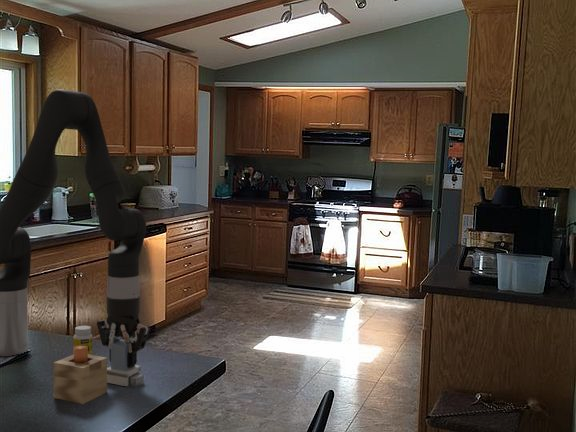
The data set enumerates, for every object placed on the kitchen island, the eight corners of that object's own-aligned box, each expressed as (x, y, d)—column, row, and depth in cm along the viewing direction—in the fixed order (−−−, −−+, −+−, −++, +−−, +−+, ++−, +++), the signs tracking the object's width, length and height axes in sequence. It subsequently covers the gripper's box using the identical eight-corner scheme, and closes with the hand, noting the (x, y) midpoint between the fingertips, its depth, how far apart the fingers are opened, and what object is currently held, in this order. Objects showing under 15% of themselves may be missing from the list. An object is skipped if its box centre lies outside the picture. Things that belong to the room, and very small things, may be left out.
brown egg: (70, 361, 144) (70, 348, 144) (79, 358, 147) (79, 345, 147) (81, 363, 143) (81, 350, 143) (90, 359, 146) (90, 346, 145)
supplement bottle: (80, 363, 167) (80, 331, 166) (69, 359, 170) (69, 327, 169) (96, 358, 171) (96, 327, 170) (85, 355, 173) (85, 324, 173)
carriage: (105, 382, 153) (105, 343, 152) (119, 374, 158) (119, 337, 157) (126, 386, 151) (126, 347, 150) (140, 378, 156) (140, 341, 155)
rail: (73, 374, 158) (73, 366, 158) (82, 371, 161) (82, 363, 161) (136, 387, 151) (136, 378, 151) (143, 382, 154) (143, 374, 154)
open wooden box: (53, 397, 144) (53, 362, 143) (78, 386, 151) (78, 352, 150) (83, 404, 141) (83, 368, 140) (106, 391, 148) (106, 357, 147)
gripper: (88, 293, 152) (88, 365, 153) (139, 300, 146) (138, 375, 148) (108, 288, 159) (108, 356, 160) (158, 294, 153) (157, 365, 155)
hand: (123, 365), depth 154 cm, fingers closed on carriage, 4 cm apart
